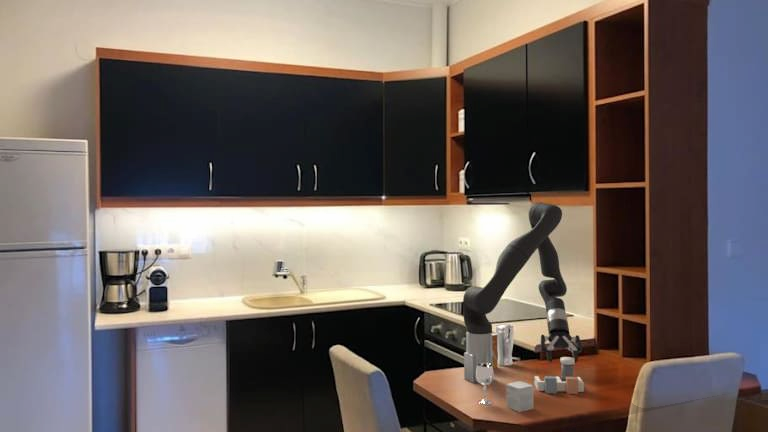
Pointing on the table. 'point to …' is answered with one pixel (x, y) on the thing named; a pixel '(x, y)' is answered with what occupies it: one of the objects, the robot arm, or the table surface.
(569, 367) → the blue white-capped bottle
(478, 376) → the wineglass
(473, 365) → the robot arm
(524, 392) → the product box
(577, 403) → the table surface
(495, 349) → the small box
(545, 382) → the socket block
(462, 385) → the table surface
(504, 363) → the beer glass
